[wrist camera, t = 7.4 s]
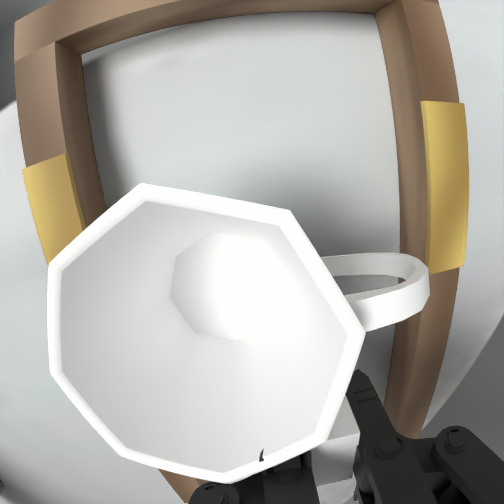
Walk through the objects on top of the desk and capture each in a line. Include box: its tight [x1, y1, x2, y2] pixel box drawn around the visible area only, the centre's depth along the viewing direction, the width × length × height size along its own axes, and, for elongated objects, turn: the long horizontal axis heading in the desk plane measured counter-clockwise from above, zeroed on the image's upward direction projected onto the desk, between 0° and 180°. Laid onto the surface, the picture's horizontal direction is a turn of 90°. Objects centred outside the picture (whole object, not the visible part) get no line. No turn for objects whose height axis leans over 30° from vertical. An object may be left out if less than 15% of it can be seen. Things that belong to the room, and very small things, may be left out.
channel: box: [14, 0, 469, 503], centre depth 14 cm, size 17×30×3 cm, turn 9°
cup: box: [47, 183, 430, 484], centre depth 10 cm, size 7×10×8 cm
